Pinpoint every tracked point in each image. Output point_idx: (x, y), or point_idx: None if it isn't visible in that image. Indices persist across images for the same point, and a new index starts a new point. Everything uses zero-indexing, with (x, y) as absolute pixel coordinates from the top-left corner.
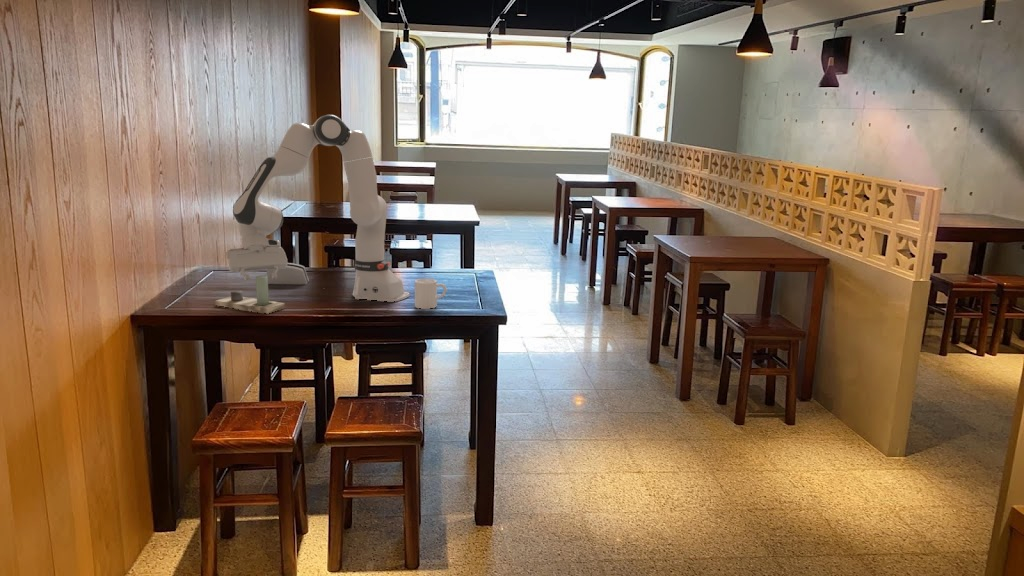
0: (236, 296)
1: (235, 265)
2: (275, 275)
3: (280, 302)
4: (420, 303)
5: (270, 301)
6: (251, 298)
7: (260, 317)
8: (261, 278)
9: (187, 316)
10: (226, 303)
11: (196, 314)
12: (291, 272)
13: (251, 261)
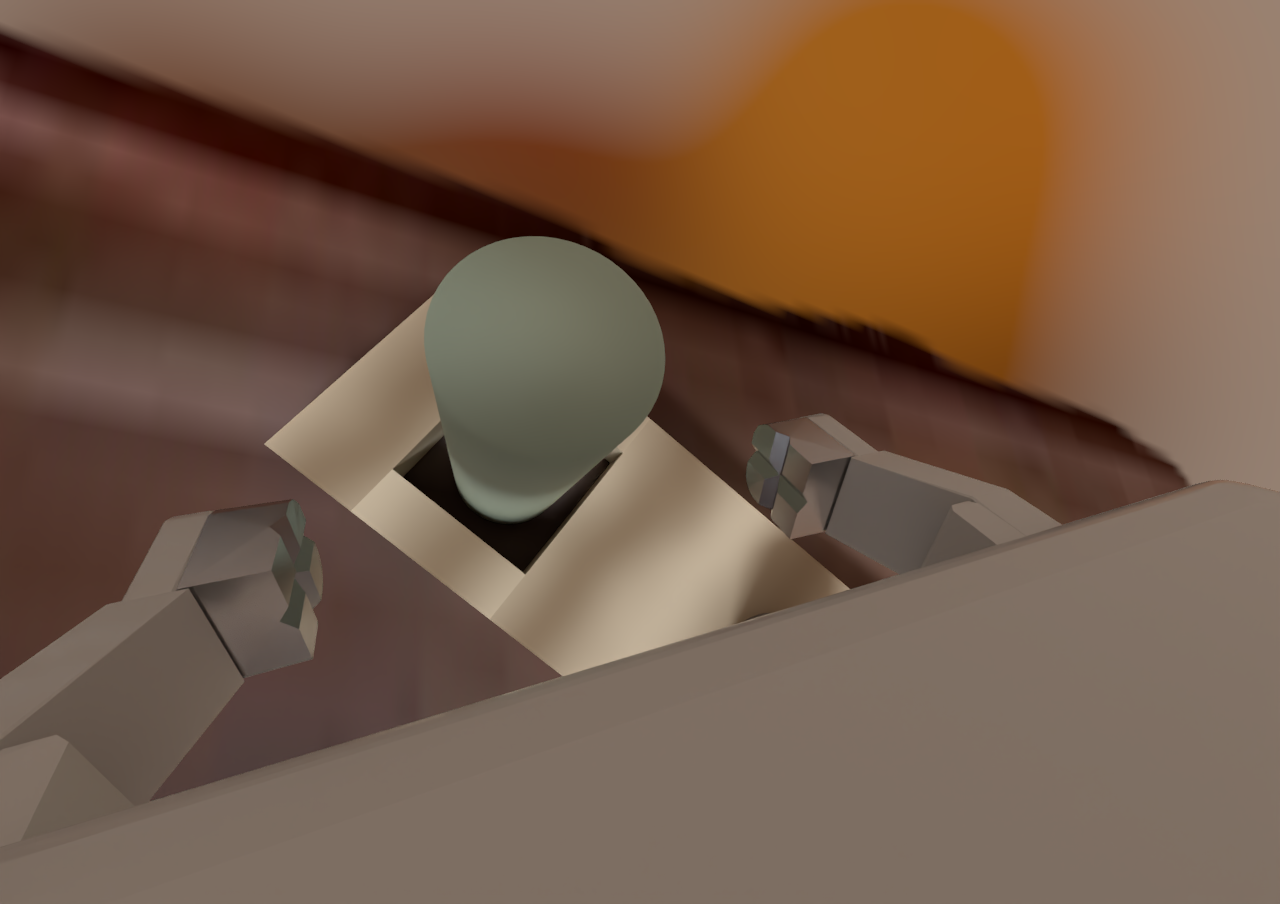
0: None
1: (1232, 501)
2: (207, 515)
3: (315, 483)
4: None
5: (434, 552)
6: None
7: (527, 214)
8: (549, 243)
9: (980, 384)
10: (833, 581)
11: (948, 421)
12: None
13: (1044, 723)
